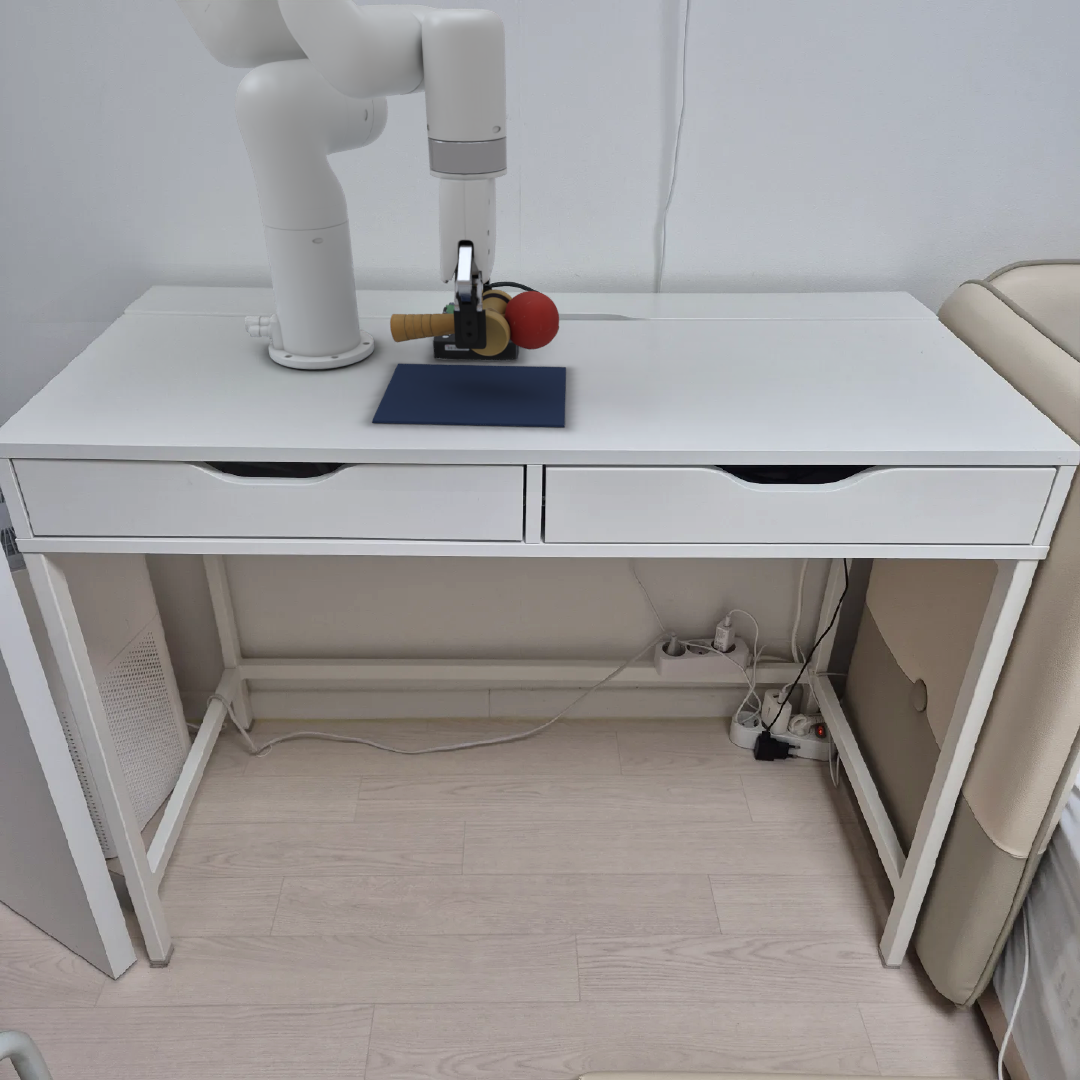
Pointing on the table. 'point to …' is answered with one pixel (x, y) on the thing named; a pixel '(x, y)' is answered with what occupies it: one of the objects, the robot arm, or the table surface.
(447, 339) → the disk drive
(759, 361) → the table surface
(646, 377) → the table surface
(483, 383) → the napkin
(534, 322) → the kendama
